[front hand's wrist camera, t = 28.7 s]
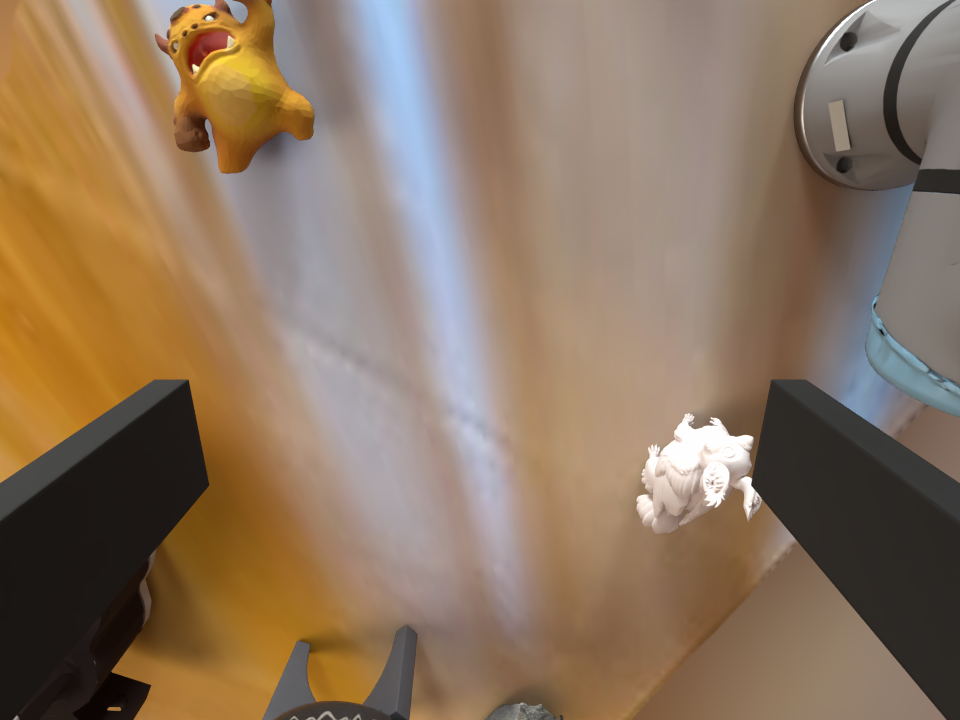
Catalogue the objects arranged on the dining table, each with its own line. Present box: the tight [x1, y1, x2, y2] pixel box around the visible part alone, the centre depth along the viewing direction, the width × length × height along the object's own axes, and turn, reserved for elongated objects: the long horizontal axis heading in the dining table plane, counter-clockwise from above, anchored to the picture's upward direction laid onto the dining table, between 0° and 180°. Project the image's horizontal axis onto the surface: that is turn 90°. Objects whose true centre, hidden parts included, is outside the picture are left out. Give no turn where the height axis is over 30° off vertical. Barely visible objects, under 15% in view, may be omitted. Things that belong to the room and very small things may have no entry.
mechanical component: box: [14, 548, 157, 720], centre depth 53 cm, size 22×21×30 cm
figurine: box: [636, 413, 762, 534], centre depth 53 cm, size 8×15×13 cm, turn 161°
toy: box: [155, 0, 314, 174], centre depth 44 cm, size 11×6×15 cm
